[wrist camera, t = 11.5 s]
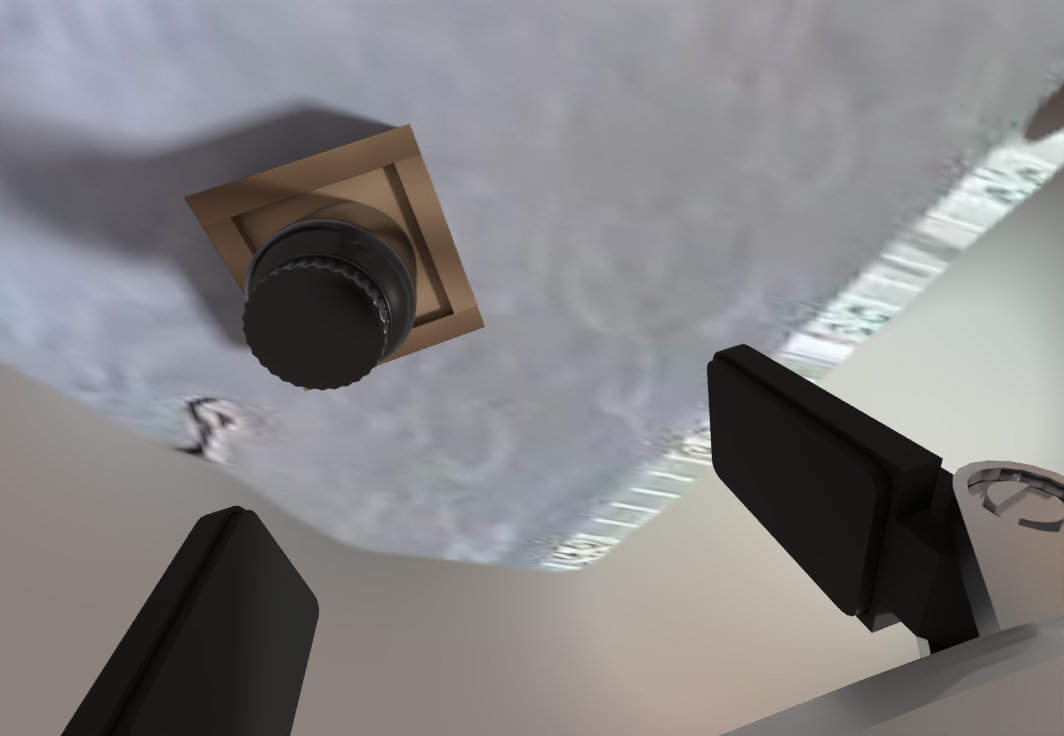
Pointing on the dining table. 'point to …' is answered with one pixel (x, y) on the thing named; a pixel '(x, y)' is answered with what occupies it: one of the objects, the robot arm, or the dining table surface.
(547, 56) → the dining table surface
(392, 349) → the supplement bottle
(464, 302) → the display plinth
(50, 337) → the dining table surface
